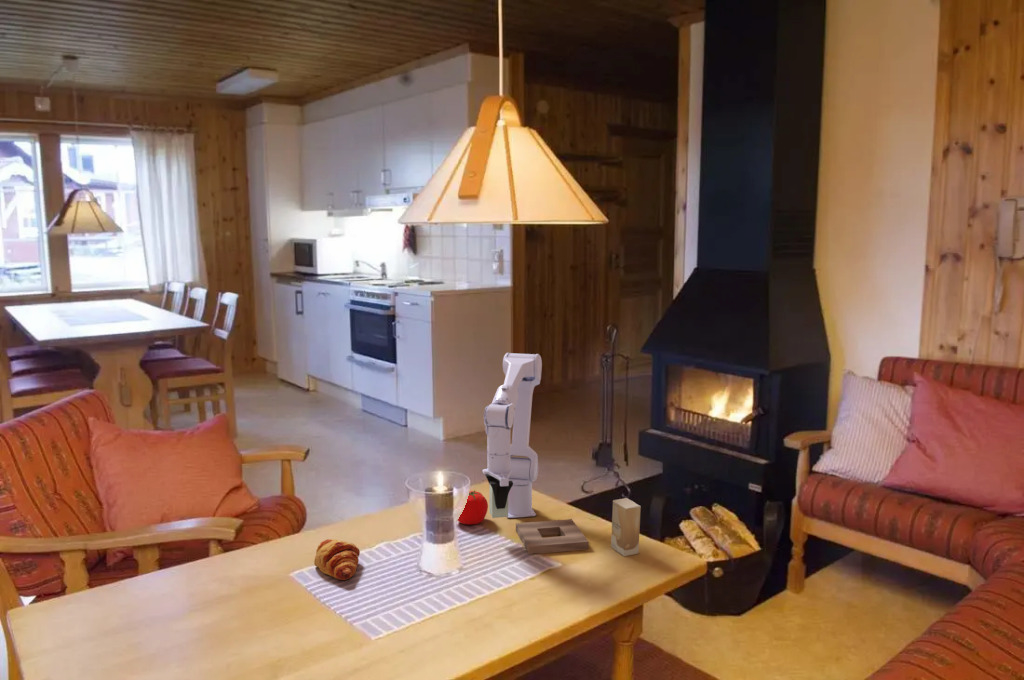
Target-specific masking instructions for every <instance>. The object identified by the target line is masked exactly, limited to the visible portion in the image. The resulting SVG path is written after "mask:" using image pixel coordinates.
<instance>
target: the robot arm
mask: <svg viewBox="0 0 1024 680" xmlns="http://www.w3.org/2000/svg"><path fill="white" fill-rule="evenodd" d="M542 367H543V362H542V357H541V355H540V354H539V353H536V354H535V353H532V354H531V353H513V352H506V353H505V354H504V355H503V359H502V371H503V374H504V376H505V378H504V381H503V384H502V385H500V386H498V388H496V392H495V394H494V396H493V399H492V401H491V403H490V404H488V405H486V407H485V408H484V412H483V424H484V425H483V426H484V430H485V435H487V437H486V438H487V439H486V443H487V445H486V446H487V447H486V451H487V455H486V456H487V457H486V458H487V463H486V465H487V468H484V469H482V473H483V475H485V477H486V479H487V482H488V484H489V483H490V485H491V487H492V489H493V493H494V498H495V505H496V508H497V509H503V508H505V506H506V502H507V498H508V517H506V518H507V519H515V518H527V517H529V518H530V517H536V516H537V513H536V512H535V510H534V509H533V483H534V482H535V481H536V480H537V478H538V475H539V474H538V473H539V463H538V462H539V461H538V458H539V457H538V456H539V455H538V454H537V452H536V450H534V449H533V448H532V447H531V446H530V445H529V443H530V435H531V433H530V432H531V431H530V430H531V419H532V417H531V416H532V405H533V404H532V403H533V393H534V389H535V387H536V386H538V385H540V384H541V380H542V369H543V368H542ZM511 429H512V434H511ZM511 436H512V437H511ZM511 438H512V439H511ZM513 456H515V457H513ZM516 456H518V457H516Z"/></svg>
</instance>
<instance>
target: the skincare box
mask: <svg viewBox="0 0 1024 680" xmlns="http://www.w3.org/2000/svg"><path fill="white" fill-rule="evenodd" d="M641 509H642V507H641V505H639V504H638V503H636V502H634V501H633V500H631V499H629V498H628V497H625V498H619V499H613V500H612V514H611V515H612V516H611V521H612V522H611V537H610V538H611V539H610V547H611V548H612V549H614V550H615V551H616V552H617V553H619V554H620V555H622V556H624V557H627V556H632V555H637V554H639V551H640V549H639V548H640V526H641Z"/></svg>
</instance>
